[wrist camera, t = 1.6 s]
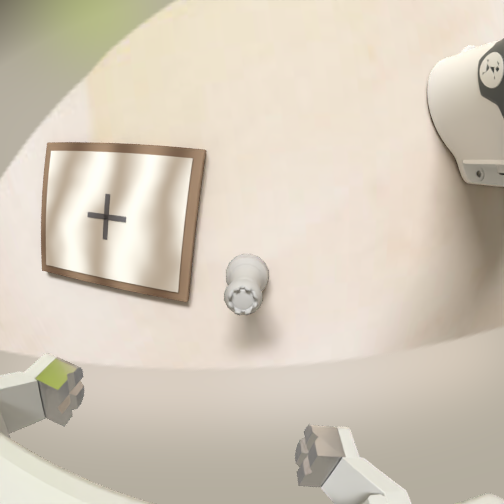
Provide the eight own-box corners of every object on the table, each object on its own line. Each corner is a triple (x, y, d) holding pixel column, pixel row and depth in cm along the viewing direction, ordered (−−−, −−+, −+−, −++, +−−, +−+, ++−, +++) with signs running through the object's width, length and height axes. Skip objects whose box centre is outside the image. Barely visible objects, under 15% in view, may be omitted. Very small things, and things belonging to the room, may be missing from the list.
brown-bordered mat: (206, 150, 30) (203, 149, 29) (188, 298, 34) (186, 303, 33) (52, 143, 30) (46, 142, 29) (46, 268, 34) (41, 270, 33)
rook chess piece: (222, 256, 33) (209, 280, 25) (264, 248, 32) (264, 270, 25) (231, 296, 34) (222, 329, 26) (272, 288, 33) (274, 320, 25)
